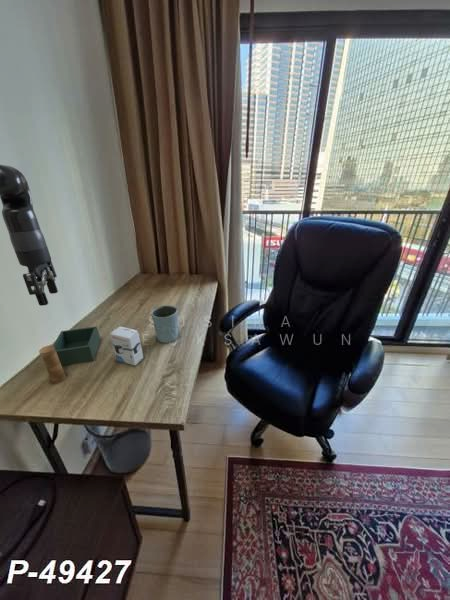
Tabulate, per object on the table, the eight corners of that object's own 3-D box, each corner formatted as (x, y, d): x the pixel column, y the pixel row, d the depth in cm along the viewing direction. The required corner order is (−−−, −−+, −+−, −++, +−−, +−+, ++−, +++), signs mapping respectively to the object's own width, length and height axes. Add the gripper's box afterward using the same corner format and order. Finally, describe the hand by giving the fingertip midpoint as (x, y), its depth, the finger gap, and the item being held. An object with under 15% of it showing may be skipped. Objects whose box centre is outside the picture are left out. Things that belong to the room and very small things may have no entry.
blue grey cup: (157, 346, 97) (152, 319, 92) (153, 332, 106) (149, 307, 100) (182, 340, 101) (179, 314, 95) (177, 327, 109) (174, 303, 104)
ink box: (115, 360, 90) (108, 333, 85) (125, 352, 94) (119, 325, 89) (135, 366, 87) (128, 338, 82) (144, 357, 91) (138, 330, 86)
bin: (54, 367, 87) (48, 352, 84) (66, 344, 99) (61, 331, 96) (93, 360, 90) (89, 346, 87) (100, 339, 102) (96, 326, 99)
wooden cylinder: (49, 384, 80) (36, 354, 75) (54, 375, 83) (41, 346, 78) (63, 381, 81) (51, 351, 76) (67, 373, 84) (56, 344, 79)
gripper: (26, 241, 75) (44, 290, 82) (1, 254, 63) (25, 311, 70) (54, 239, 77) (69, 288, 84) (35, 251, 64) (55, 307, 72)
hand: (49, 298), depth 77 cm, fingers open, 8 cm apart
